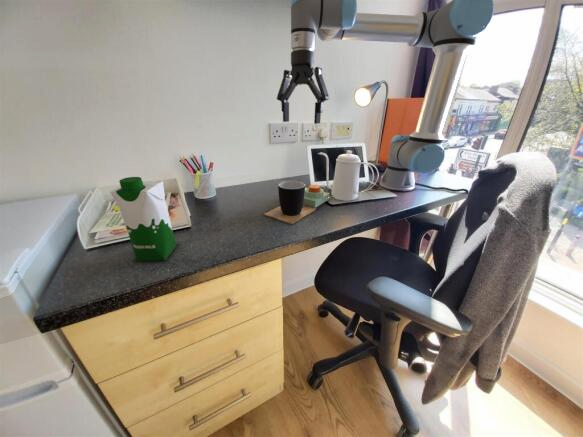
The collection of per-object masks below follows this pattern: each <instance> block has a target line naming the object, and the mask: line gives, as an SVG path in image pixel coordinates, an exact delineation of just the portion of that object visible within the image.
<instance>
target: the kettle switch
mask: <svg viewBox="0 0 583 437" xmlns="http://www.w3.org/2000/svg"><path fill="white" fill-rule="evenodd" d="M308 188H309V192H312V193H317V192H320V189H321V185H319V184H309V185H308Z"/></svg>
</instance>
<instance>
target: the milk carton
mask: <svg viewBox="0 0 583 437" xmlns="http://www.w3.org/2000/svg"><path fill="white" fill-rule="evenodd" d="M118 183H119V185H120V186H118V187H116V188H114V189H112V190H110V195H111V196H112V198H113V200H114V201H115V203H116V204H117V206H118V208H119V211H120V215H121V217H122V220H123V223H124V226H125V228H126V232H127V235H128V238H129V240H130V244H131V248H132V251H133V254H134V258H135V261H136V262H144V261H146V262H150V261H152V262H153V261H155V262H156V261H166V260H167V259H168V257H169V256H170V255H171V253H172V252H173V251H174V249H175V248H176V247H177V245H178V243H177V241H176V237H175V234H174V231H173V227H172V222H171V217H170V214H169V209H168V205H167V201H166V197H165V196H166V194H165V186H164V180H143V179H142V177H140V176H129V177H124V178H121V179H119V182H118Z"/></svg>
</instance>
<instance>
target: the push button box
mask: <svg viewBox="0 0 583 437" xmlns="http://www.w3.org/2000/svg"><path fill="white" fill-rule="evenodd" d="M330 195H331V193H330V192H326V191H325V190H324V189H322V188H320V192H317V193H312V192H309V187H305V195H304V202H303V205H305V206H309V207H312V208H316V209H317V208H318V207H319V206H321V205H323V204H325V203H326V202H327V201H329V200H330ZM328 197H329V198H328ZM326 198H327V199H326Z"/></svg>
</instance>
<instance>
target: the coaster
mask: <svg viewBox="0 0 583 437" xmlns="http://www.w3.org/2000/svg"><path fill="white" fill-rule="evenodd" d="M316 210H317V207H316V208H314V207H310V206H307V205H303V207H302V211H301V213H300V214H298V215H295V216H288V215H285V214H283V213H282V211H281V207H280V205H279V206H277V207H275V208H273V209H270V210H269V211H267V212H264V213H263V215H264V216H266V217H269V218H272V219H275V220H277V221H281V222H283V223H286V224H290V225H294V224H295V223H297V222H298V221H300V220H301V219H303V218H305V217H306V216H308V215H309V214H311V213H312V212H315V211H316Z"/></svg>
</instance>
